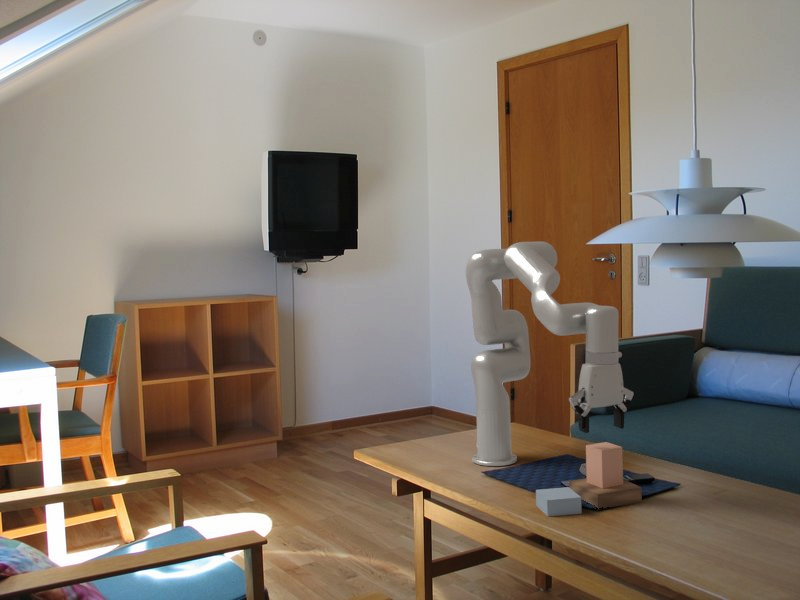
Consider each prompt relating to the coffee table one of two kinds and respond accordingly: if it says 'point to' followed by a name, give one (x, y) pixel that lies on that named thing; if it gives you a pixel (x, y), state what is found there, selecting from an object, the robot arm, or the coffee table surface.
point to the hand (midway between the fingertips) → (601, 429)
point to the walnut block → (607, 493)
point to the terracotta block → (604, 465)
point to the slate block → (558, 501)
